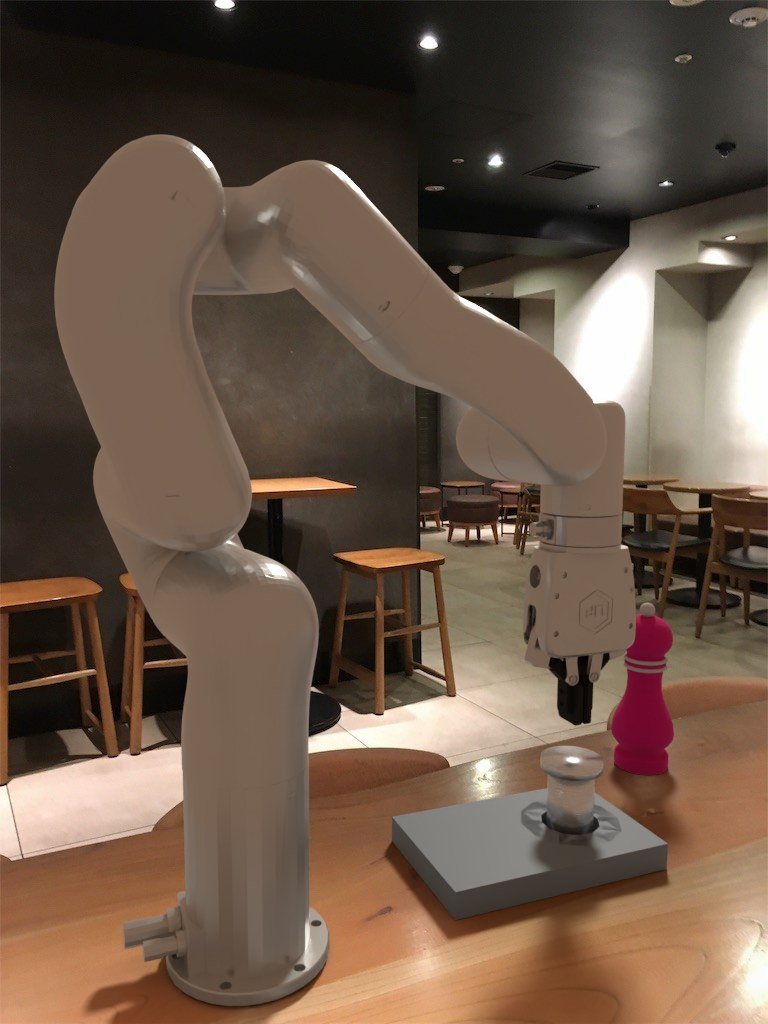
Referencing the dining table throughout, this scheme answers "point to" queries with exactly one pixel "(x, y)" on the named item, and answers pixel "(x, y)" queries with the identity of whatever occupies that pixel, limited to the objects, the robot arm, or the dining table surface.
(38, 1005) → the dining table surface
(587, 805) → the grey cylindrical piece
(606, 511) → the robot arm
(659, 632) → the pepper mill
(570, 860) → the plate
